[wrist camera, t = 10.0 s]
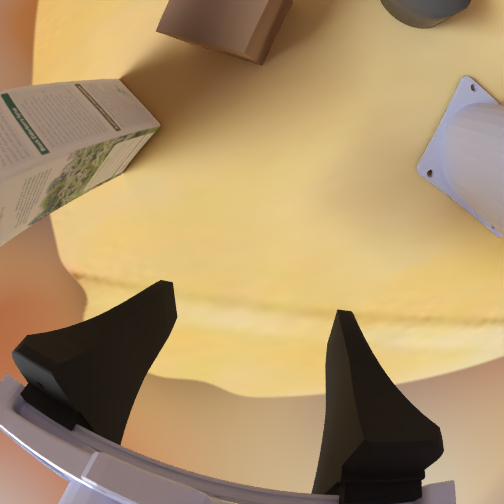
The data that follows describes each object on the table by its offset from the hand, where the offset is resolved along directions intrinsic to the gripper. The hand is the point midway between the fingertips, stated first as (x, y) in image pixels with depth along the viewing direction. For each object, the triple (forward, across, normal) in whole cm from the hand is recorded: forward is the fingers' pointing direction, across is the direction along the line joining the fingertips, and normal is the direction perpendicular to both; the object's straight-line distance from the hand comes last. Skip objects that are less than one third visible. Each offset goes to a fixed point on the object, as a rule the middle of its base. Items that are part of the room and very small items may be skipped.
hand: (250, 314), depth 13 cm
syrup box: (+10, +12, -7) cm, 17 cm away
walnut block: (+10, +3, -14) cm, 17 cm away
